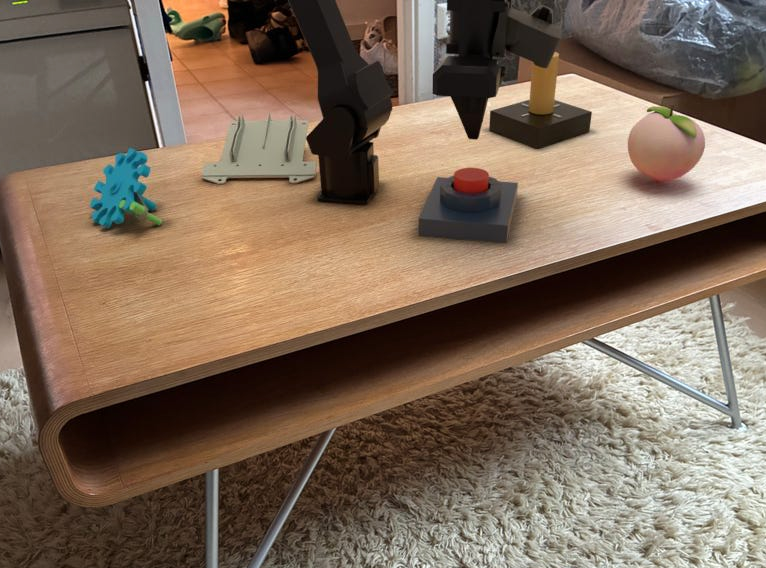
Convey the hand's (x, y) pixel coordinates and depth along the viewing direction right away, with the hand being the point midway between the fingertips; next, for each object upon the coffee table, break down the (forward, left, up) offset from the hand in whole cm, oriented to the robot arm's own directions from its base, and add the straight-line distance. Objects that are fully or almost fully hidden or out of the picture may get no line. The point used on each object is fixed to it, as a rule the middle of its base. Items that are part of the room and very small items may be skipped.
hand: (473, 138), depth 85 cm
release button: (0, 0, -6) cm, 6 cm away
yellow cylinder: (+6, +31, -6) cm, 32 cm away
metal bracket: (-30, +12, -10) cm, 34 cm away
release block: (0, 0, -10) cm, 10 cm away
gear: (-40, -8, -10) cm, 42 cm away
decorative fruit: (+22, +14, -10) cm, 28 cm away
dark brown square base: (+6, +31, -10) cm, 33 cm away
